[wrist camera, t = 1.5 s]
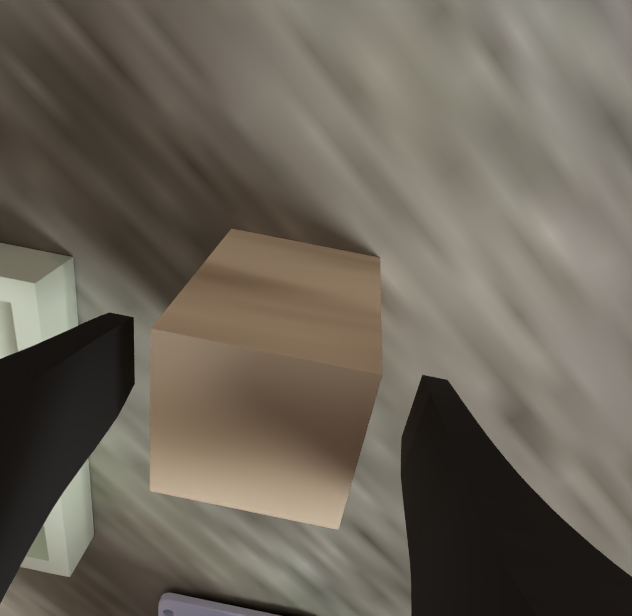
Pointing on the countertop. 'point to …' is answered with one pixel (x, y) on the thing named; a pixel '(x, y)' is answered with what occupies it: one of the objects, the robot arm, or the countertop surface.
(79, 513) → the tray
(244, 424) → the maple block
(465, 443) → the robot arm
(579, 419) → the countertop surface
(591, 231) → the countertop surface
